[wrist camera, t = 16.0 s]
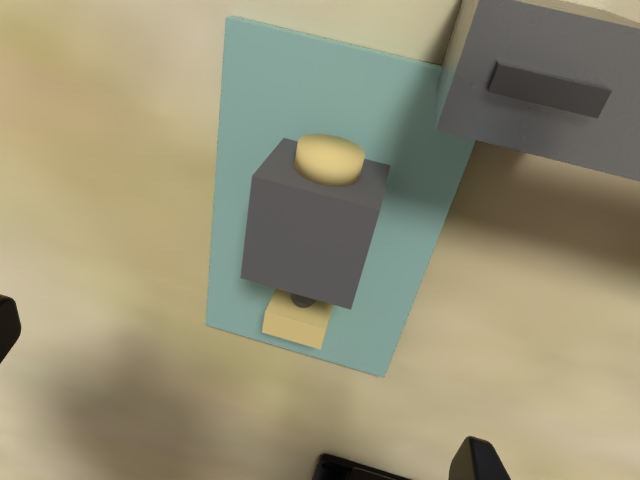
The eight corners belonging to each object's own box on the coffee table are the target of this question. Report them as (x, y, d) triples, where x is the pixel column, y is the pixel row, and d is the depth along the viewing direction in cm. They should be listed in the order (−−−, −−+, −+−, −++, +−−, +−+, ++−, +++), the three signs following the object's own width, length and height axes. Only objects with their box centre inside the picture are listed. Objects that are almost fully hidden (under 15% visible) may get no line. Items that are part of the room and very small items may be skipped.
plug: (343, 325, 21) (328, 385, 18) (259, 301, 22) (231, 356, 19) (396, 144, 16) (387, 186, 13) (286, 116, 17) (254, 151, 14)
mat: (385, 368, 23) (384, 377, 22) (210, 316, 24) (205, 324, 23) (496, 79, 15) (498, 83, 15) (232, 15, 16) (225, 17, 15)
